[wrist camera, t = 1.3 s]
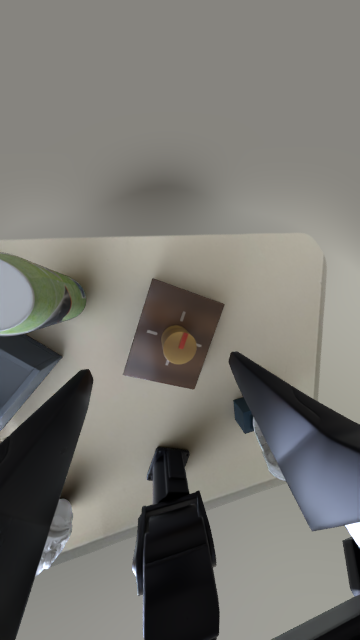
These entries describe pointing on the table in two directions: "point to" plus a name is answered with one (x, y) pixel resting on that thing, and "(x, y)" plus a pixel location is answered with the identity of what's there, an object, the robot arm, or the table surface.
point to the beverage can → (35, 296)
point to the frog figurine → (57, 534)
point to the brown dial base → (158, 314)
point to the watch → (249, 425)
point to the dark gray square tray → (21, 371)
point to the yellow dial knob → (178, 345)
